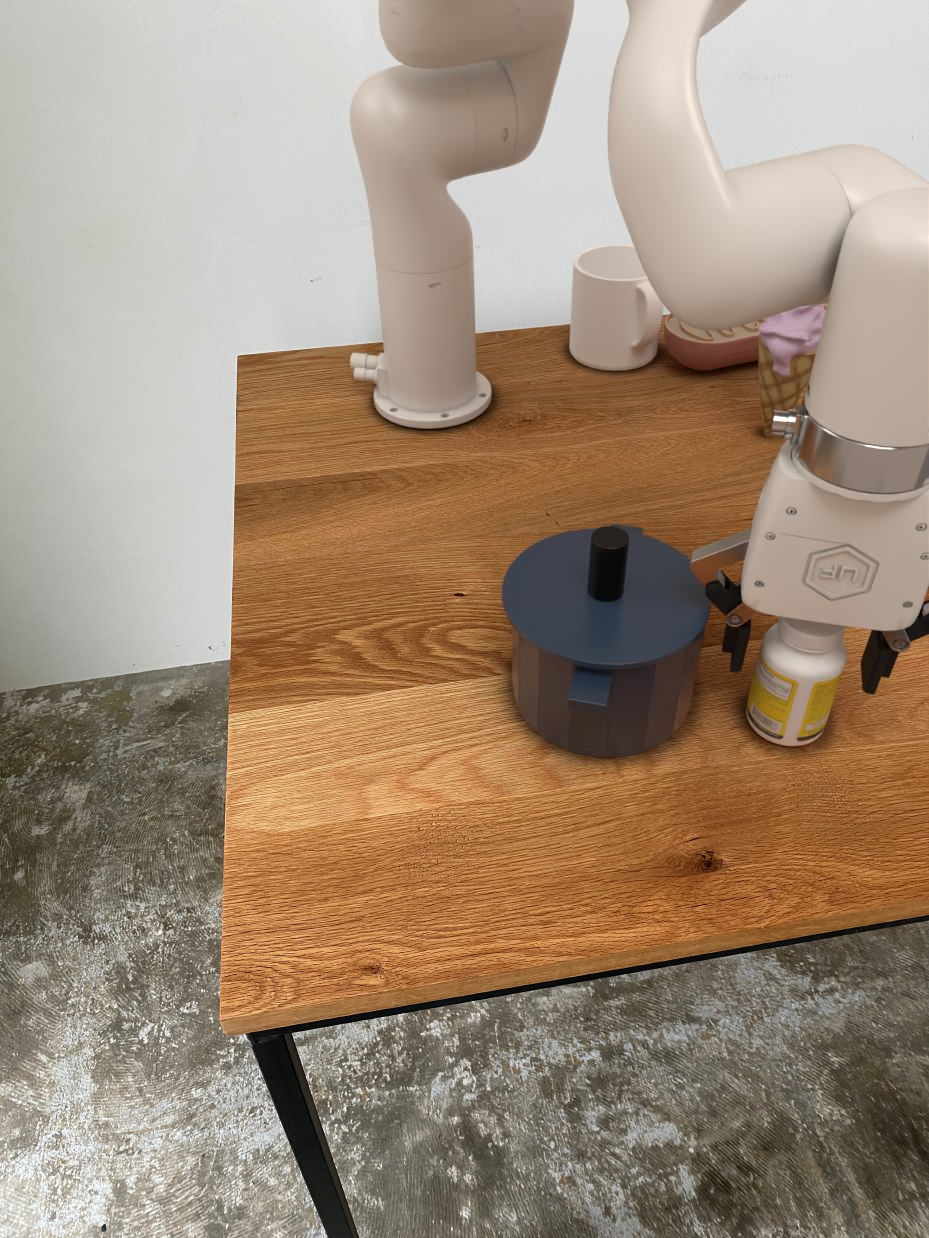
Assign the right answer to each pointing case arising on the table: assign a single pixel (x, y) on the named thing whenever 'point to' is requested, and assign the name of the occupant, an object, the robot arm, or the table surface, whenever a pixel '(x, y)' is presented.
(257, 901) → the table surface
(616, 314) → the mug
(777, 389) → the ice cream cone
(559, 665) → the pot
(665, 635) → the pot lid
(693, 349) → the mitochondrion model
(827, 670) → the supplement bottle
